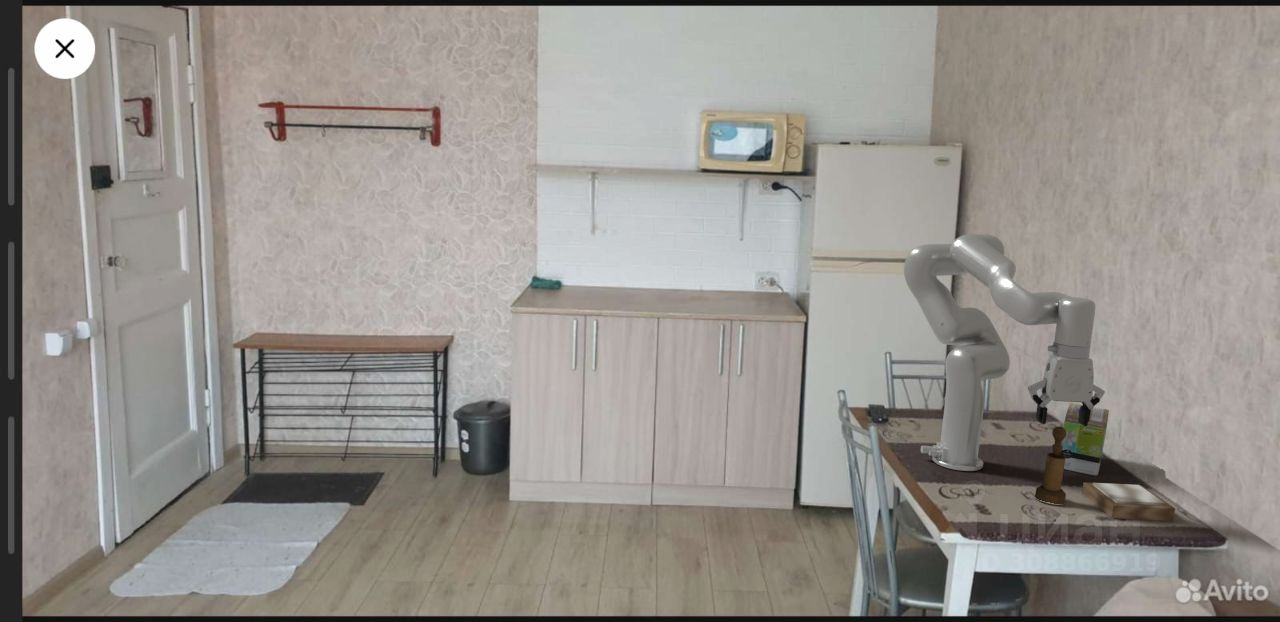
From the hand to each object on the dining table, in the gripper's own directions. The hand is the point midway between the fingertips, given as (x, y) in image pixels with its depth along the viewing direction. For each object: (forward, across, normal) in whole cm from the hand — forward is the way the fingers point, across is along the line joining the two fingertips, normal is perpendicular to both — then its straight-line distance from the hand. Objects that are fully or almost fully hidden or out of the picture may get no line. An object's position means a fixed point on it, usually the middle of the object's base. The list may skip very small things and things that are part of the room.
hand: (1061, 423), depth 207 cm
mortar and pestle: (+19, 0, 0) cm, 19 cm away
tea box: (+19, +20, +28) cm, 39 cm away
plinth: (+19, +17, -2) cm, 25 cm away
